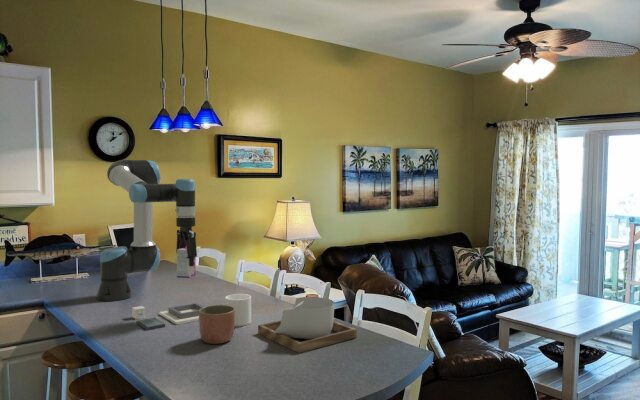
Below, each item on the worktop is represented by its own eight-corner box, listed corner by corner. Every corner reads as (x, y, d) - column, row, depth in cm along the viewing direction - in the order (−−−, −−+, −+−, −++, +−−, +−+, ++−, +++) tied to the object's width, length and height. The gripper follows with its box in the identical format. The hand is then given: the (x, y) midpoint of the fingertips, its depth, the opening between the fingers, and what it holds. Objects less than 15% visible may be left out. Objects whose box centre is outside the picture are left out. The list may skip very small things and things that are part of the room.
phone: (136, 323, 193) (136, 320, 193) (154, 320, 197) (154, 317, 197) (146, 330, 184) (146, 327, 184) (165, 326, 189) (165, 324, 189)
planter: (217, 348, 165) (217, 316, 165) (191, 342, 172) (191, 310, 171) (242, 338, 176) (242, 308, 175) (216, 332, 182) (216, 303, 182)
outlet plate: (159, 314, 206) (159, 307, 205) (199, 307, 217) (199, 300, 217) (176, 324, 191) (176, 317, 191) (218, 316, 203) (218, 309, 203)
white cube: (132, 317, 202) (132, 307, 201) (142, 315, 204) (142, 305, 204) (136, 319, 198) (136, 309, 198) (146, 318, 201) (146, 308, 200)
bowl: (328, 345, 168) (329, 310, 168) (273, 340, 171) (274, 306, 171) (336, 329, 187) (337, 297, 187) (287, 325, 191) (288, 294, 191)
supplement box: (189, 278, 200) (189, 249, 199) (176, 277, 201) (175, 249, 201) (196, 275, 205) (196, 247, 205) (183, 275, 207) (182, 247, 206)
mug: (256, 323, 194) (256, 297, 194) (234, 328, 187) (234, 301, 187) (238, 316, 203) (238, 291, 203) (217, 321, 197) (216, 295, 196)
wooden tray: (258, 333, 181) (258, 325, 181) (313, 321, 197) (313, 313, 197) (299, 352, 162) (299, 343, 161) (356, 337, 177) (356, 329, 177)
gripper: (167, 215, 208) (168, 270, 209) (187, 218, 192) (188, 277, 193) (184, 215, 213) (185, 268, 214) (205, 217, 197) (206, 275, 197)
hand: (186, 272), depth 203 cm, fingers closed on supplement box, 8 cm apart
